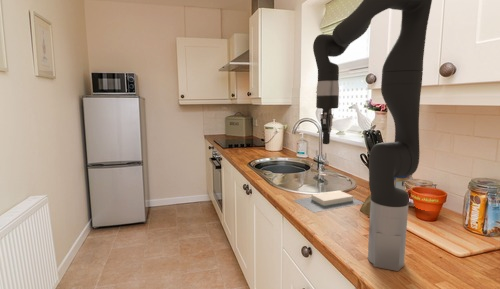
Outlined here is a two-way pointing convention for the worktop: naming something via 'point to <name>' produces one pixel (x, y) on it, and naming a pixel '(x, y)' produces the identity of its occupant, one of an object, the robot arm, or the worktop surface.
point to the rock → (366, 206)
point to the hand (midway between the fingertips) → (326, 143)
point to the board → (317, 207)
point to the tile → (332, 198)
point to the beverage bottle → (401, 181)
